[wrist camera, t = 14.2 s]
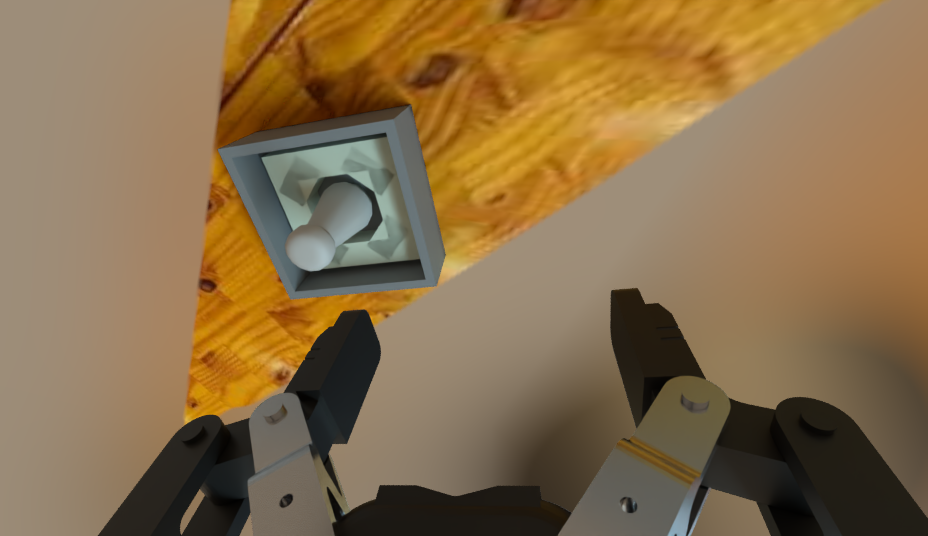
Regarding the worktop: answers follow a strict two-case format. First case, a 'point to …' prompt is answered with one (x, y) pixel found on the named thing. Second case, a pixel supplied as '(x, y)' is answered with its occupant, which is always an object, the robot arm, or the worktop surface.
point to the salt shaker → (329, 226)
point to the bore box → (356, 162)
